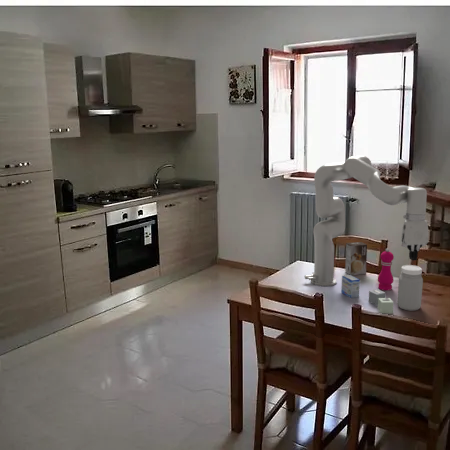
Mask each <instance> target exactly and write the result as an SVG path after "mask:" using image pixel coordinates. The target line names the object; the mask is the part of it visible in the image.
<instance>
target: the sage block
mask: <svg viewBox="0 0 450 450" xmlns="http://www.w3.org/2000/svg"><path fill="white" fill-rule="evenodd" d="M394 304H395V303H394V300H392V299H391V297H385V298H378V305H377V310H378V312H379V313H380V312H381V313H380V314H394Z"/></svg>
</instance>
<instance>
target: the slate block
mask: <svg viewBox="0 0 450 450" xmlns="http://www.w3.org/2000/svg"><path fill="white" fill-rule="evenodd" d="M386 297H387V295H386V292H384V290H381V289H379V288H378V289H373V290H369V291H368V302H369V303H371V304H373V305H375V306H378V298H386Z"/></svg>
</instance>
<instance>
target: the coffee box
mask: <svg viewBox="0 0 450 450" xmlns="http://www.w3.org/2000/svg"><path fill="white" fill-rule="evenodd" d="M367 254H368V244H367V243H364V242H362V241H359V242H357V241H356V242H346V244H345V271H346V272H345V273H346V274H347V275H349V274H350V275H351V276H354V275H356V276H357V275H366V274H367V261H368V260H367V259H368V257H367V256H368V255H367Z"/></svg>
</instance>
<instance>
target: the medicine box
mask: <svg viewBox="0 0 450 450" xmlns="http://www.w3.org/2000/svg"><path fill="white" fill-rule="evenodd" d="M360 282H361V280H360V279H359V278H357V277H355V276H354V275H349V274H345V275H342V276H341V288H340V289H341V291H340V292H341V294H343V295H345V296H347V297H348V298H351V299H354V298H355V299H356V298H359V297H360V284H361V283H360Z"/></svg>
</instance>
